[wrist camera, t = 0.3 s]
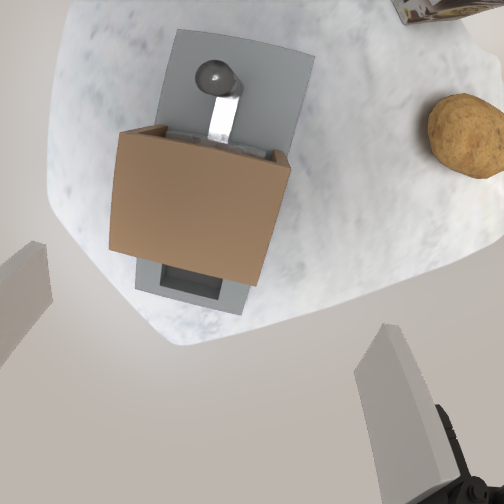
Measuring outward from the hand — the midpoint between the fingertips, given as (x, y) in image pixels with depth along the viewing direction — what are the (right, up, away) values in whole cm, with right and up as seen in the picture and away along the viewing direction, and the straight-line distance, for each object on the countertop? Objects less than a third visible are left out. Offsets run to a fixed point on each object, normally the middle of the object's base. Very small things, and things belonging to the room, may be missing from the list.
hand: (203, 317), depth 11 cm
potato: (+27, +17, +20) cm, 38 cm away
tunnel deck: (-3, +11, +24) cm, 26 cm away
